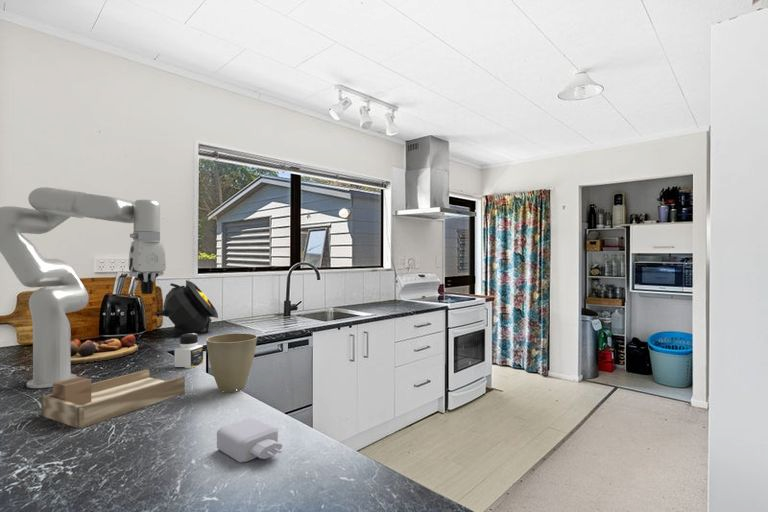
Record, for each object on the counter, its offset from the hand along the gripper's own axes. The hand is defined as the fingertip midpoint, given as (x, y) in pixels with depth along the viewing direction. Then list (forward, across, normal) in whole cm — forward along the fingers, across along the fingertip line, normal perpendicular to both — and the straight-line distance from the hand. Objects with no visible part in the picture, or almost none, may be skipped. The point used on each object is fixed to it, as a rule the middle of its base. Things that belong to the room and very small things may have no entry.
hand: (147, 293), depth 131 cm
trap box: (+29, -16, -12) cm, 35 cm away
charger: (+30, -20, -67) cm, 76 cm away
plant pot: (+29, +8, -30) cm, 43 cm away
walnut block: (+27, -25, -8) cm, 38 cm away
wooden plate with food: (+30, +14, +58) cm, 67 cm away
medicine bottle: (+29, +20, +6) cm, 36 cm away
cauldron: (+29, +63, +64) cm, 94 cm away
